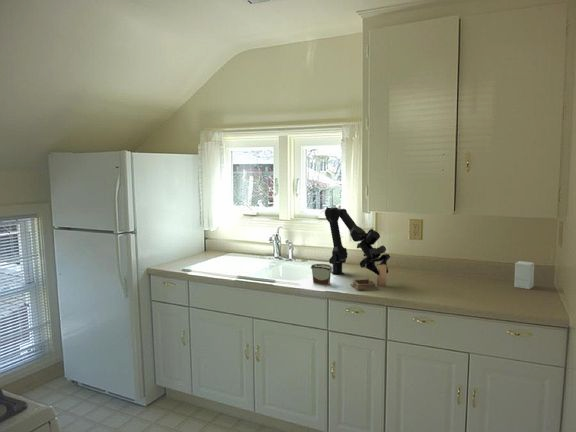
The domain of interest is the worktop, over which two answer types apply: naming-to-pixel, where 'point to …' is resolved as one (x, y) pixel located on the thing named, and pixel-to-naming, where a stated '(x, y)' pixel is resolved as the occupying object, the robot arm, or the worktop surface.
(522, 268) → the supplement box
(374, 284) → the walnut holder
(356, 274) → the worktop surface
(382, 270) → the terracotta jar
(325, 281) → the food container
